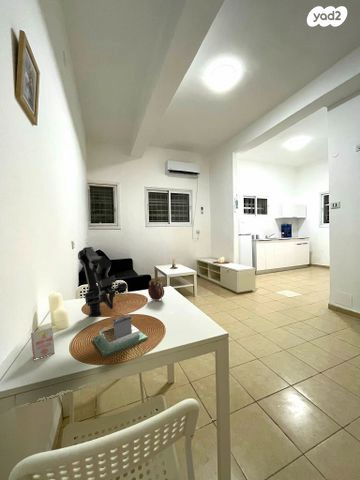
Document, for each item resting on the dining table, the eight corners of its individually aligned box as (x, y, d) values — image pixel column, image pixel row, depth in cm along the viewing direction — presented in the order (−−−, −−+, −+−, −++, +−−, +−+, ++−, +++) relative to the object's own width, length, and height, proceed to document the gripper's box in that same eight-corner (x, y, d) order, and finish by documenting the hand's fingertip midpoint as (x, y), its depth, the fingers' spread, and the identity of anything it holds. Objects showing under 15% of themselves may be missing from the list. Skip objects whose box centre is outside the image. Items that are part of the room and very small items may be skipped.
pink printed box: (33, 356, 77) (31, 331, 76) (54, 349, 81) (51, 325, 80) (33, 360, 74) (30, 335, 73) (54, 353, 78) (52, 328, 77)
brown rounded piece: (165, 300, 129) (164, 277, 128) (160, 302, 125) (159, 279, 124) (152, 297, 135) (151, 276, 134) (147, 300, 131) (146, 278, 130)
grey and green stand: (92, 340, 86) (90, 316, 85) (131, 325, 97) (129, 304, 96) (104, 358, 73) (102, 329, 73) (147, 339, 84) (145, 314, 84)
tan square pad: (101, 328, 86) (107, 326, 79) (125, 319, 93) (132, 317, 86) (102, 330, 86) (107, 329, 79) (126, 322, 92) (133, 319, 86)
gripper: (81, 276, 86) (89, 309, 79) (123, 266, 96) (134, 294, 89) (82, 288, 94) (89, 318, 87) (120, 277, 104) (130, 304, 97)
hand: (111, 308), depth 90 cm, fingers closed
